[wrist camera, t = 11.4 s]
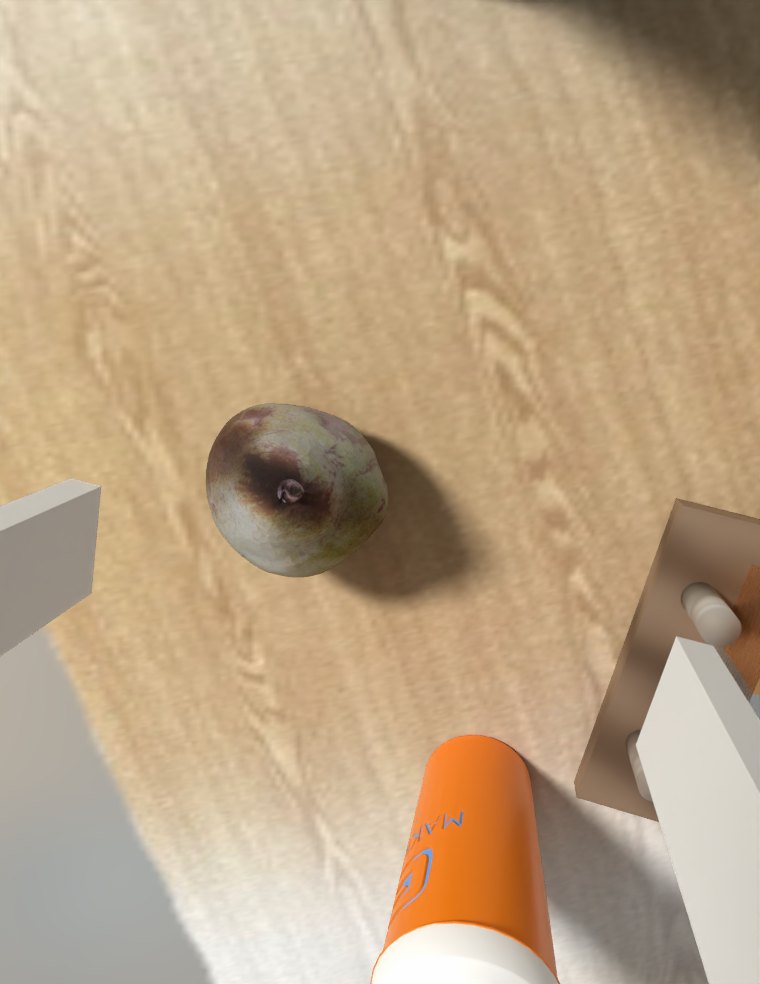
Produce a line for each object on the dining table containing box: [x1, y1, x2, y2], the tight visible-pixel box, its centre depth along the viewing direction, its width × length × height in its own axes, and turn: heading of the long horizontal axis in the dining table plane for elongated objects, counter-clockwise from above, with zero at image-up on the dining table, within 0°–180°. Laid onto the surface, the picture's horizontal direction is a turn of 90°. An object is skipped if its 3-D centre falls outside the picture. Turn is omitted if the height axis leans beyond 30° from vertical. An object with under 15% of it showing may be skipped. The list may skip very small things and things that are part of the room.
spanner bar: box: [716, 565, 760, 720], centre depth 38 cm, size 16×4×6 cm, turn 167°
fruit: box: [206, 403, 388, 577], centre depth 37 cm, size 10×9×12 cm
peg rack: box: [574, 498, 760, 822], centre depth 39 cm, size 20×13×6 cm, turn 167°
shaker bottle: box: [371, 735, 560, 984], centre depth 37 cm, size 9×9×20 cm
